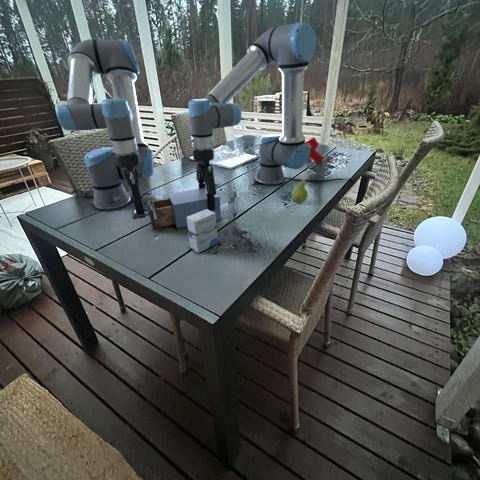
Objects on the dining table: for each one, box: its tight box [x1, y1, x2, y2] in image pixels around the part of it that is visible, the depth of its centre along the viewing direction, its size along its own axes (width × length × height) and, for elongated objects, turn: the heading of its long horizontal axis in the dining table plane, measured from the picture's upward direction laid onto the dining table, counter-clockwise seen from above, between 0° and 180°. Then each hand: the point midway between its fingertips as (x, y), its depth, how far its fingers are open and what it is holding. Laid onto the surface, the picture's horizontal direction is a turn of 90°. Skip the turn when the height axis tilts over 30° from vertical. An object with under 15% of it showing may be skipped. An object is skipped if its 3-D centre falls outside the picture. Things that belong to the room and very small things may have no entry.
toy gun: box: [305, 136, 324, 165], centre depth 169 cm, size 18×4×15 cm
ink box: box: [187, 209, 219, 254], centre depth 89 cm, size 8×5×12 cm, turn 134°
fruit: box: [291, 174, 311, 204], centre depth 118 cm, size 7×8×12 cm
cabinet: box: [167, 188, 222, 229], centre depth 107 cm, size 18×11×10 cm, turn 113°
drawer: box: [131, 197, 176, 231], centre depth 103 cm, size 22×10×8 cm, turn 113°
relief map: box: [189, 144, 258, 170], centre depth 177 cm, size 27×35×5 cm
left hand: (141, 217), depth 100 cm, fingers closed
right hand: (207, 204), depth 109 cm, fingers closed on cabinet, 11 cm apart
